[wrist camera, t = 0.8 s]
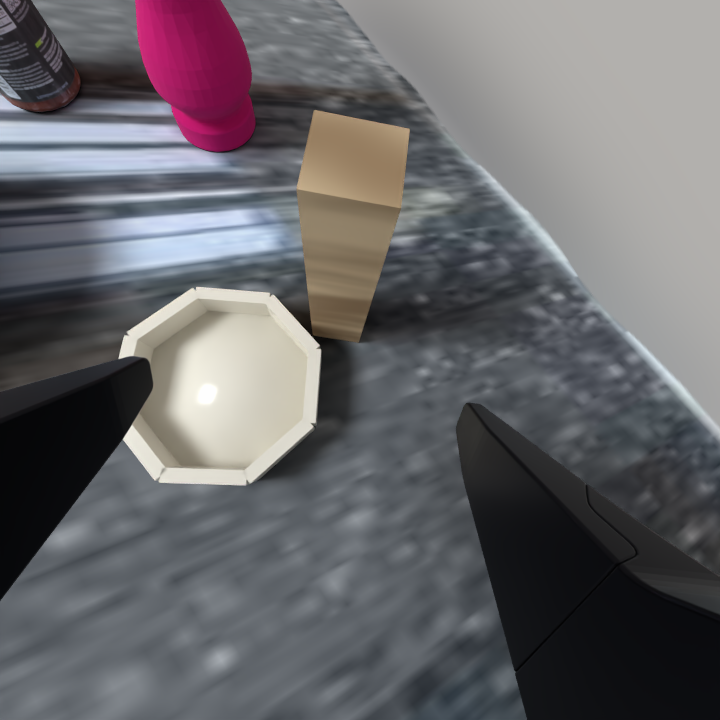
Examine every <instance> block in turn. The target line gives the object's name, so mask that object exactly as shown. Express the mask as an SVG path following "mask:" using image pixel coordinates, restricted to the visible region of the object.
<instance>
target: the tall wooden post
mask: <svg viewBox="0 0 720 720" xmlns="http://www.w3.org/2000/svg"><path fill="white" fill-rule="evenodd" d="M409 132H410V129H408V128H403V127H398V126H393V125H388V124H383V123H378V122H373V121H368V120H363V119H358V118H353V117H348V116H343V115H338V114H333V113H328V112H323V111H318V110H314V113H313V117H312V122H311V126H310V131H309V135H308V140H307V144H306V149H305V153H304V158H303V162H302V167H301V171H300V176H299V180H298V185H297V198H298V207H299V216H300V225H301V234H302V243H303V252H304V261H305V270H306V279H307V288H308V297H309V306H310V315H311V324H312V333H313V336H319V337H325V338H332V339H338V340H345V341H351V342H357V343H359V340H360V337H361V334H362V330H363V327H364V324H365V321H366V318H367V314H368V311H369V308H370V305H371V302H372V299H373V295H374V292H375V289H376V286H377V283H378V280H379V276H380V273H381V270H382V267H383V264H384V260H385V257H386V254H387V251H388V248H389V245H390V241H391V238H392V235H393V232H394V229H395V225H396V222H397V219H398V216H399V213H400V210H401V203H402V194H403V185H404V176H405V167H406V158H407V149H408V140H409Z"/></svg>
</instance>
